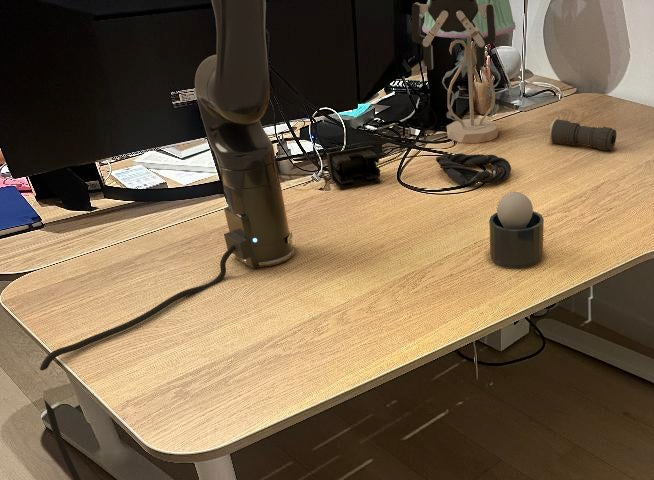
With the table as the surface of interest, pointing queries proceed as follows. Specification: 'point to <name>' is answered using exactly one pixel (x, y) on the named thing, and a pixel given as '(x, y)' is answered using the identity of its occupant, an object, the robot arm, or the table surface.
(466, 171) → the cable
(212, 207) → the table surface
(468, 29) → the robot arm
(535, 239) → the pot
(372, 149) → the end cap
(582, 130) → the flashlight
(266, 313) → the table surface
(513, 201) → the lightbulb
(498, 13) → the table lamp
